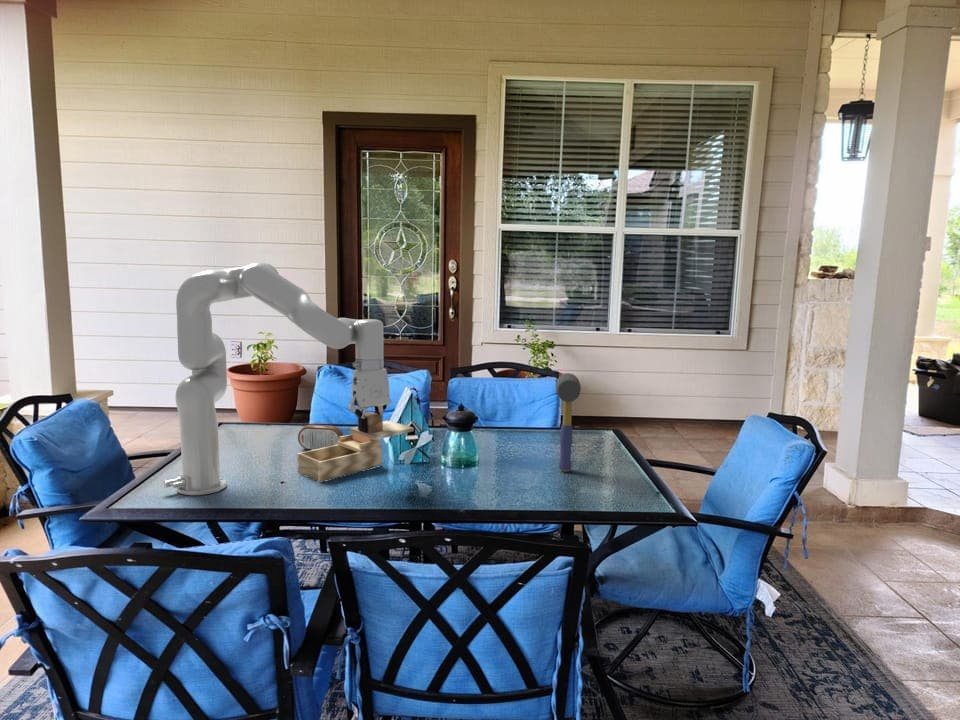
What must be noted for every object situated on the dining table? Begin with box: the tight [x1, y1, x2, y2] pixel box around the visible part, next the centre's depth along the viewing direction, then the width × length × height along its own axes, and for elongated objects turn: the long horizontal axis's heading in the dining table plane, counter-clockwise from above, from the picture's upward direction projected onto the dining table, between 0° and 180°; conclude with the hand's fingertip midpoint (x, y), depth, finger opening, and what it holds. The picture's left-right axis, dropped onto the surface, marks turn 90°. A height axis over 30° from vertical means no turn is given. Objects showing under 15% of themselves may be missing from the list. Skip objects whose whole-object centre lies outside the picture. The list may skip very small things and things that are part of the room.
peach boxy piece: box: [351, 432, 379, 443], centre depth 204 cm, size 3×9×5 cm, turn 46°
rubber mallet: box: [555, 372, 582, 472], centre depth 200 cm, size 12×8×30 cm, turn 173°
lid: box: [349, 411, 415, 440], centre depth 184 cm, size 14×12×6 cm
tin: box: [297, 424, 344, 450], centre depth 219 cm, size 15×3×8 cm, turn 84°
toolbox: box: [296, 433, 383, 483], centre depth 198 cm, size 22×12×8 cm, turn 136°
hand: (370, 429), depth 181 cm, fingers closed on lid, 4 cm apart
